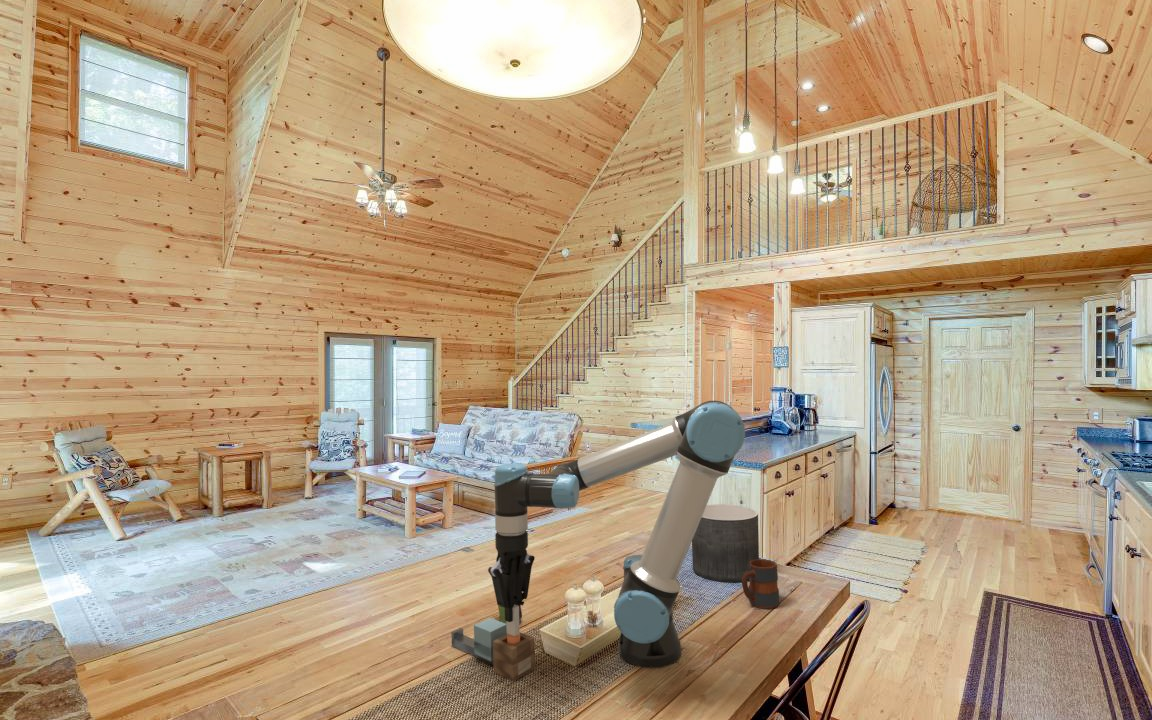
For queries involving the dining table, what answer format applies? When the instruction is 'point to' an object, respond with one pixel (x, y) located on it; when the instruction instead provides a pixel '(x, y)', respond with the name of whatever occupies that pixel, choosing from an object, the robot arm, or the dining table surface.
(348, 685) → the dining table surface
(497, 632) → the carriage
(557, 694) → the dining table surface
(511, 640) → the orange rounded piece
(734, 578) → the planter
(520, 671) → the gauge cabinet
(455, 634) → the rail
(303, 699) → the dining table surface
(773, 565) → the mug
